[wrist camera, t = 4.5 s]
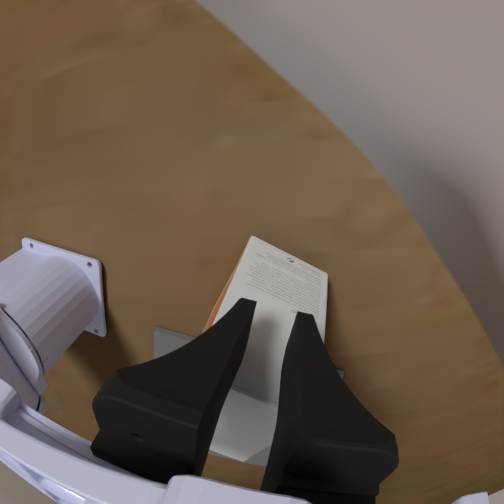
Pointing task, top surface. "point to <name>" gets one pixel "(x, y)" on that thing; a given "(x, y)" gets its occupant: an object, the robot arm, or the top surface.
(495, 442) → the top surface
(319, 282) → the small box
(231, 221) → the top surface
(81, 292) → the robot arm
